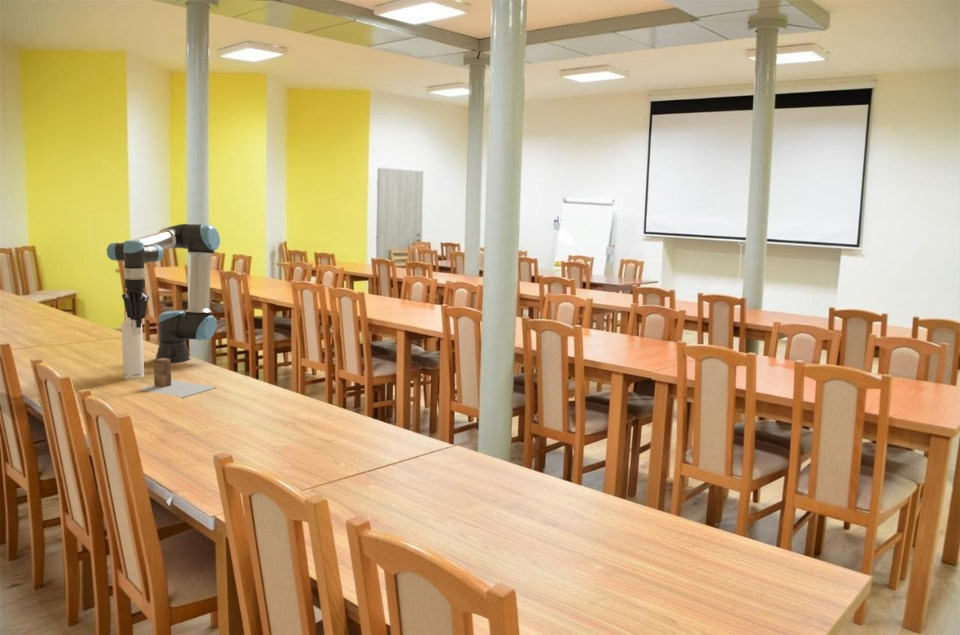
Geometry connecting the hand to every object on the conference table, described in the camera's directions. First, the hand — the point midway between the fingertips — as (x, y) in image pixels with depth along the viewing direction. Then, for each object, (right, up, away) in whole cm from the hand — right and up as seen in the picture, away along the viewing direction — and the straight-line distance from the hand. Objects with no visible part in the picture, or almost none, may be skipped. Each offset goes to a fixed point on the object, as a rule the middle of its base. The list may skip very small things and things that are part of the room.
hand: (136, 335), depth 312 cm
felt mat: (+19, -22, -5) cm, 29 cm away
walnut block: (+12, -21, -2) cm, 24 cm away
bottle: (-7, -19, +12) cm, 23 cm away
